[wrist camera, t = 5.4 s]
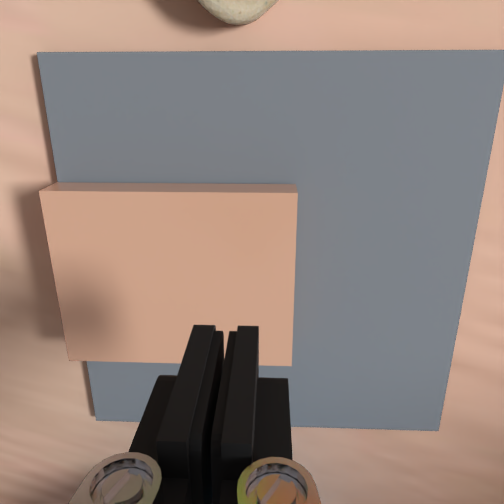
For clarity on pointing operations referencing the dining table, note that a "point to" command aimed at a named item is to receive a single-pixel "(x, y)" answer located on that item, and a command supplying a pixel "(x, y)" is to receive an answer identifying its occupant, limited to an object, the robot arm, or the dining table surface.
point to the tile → (171, 266)
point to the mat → (309, 199)
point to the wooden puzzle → (237, 10)
